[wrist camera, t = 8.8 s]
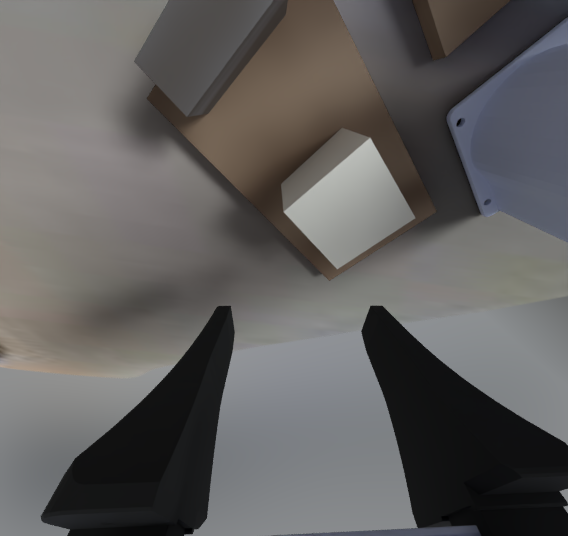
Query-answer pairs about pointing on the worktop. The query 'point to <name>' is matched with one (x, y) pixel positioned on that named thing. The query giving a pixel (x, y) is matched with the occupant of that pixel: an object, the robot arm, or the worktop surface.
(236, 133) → the walnut strip
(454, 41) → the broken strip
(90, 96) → the worktop surface
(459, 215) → the worktop surface
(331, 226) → the ceramic block
